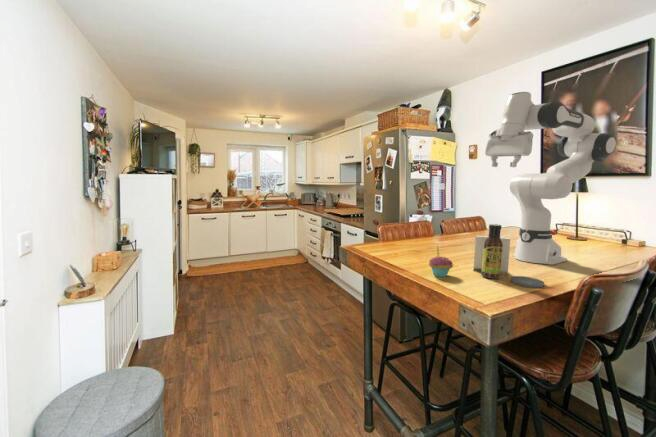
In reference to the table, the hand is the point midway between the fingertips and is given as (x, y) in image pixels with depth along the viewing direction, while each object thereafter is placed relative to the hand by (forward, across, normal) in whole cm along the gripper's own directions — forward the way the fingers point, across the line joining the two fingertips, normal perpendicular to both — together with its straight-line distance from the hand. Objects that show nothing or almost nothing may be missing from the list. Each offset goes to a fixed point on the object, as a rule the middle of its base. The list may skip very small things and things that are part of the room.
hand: (503, 166), depth 132 cm
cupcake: (+46, -8, +25) cm, 53 cm away
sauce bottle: (+43, -15, +9) cm, 46 cm away
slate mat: (+41, -24, +2) cm, 48 cm away
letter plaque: (+42, -9, +3) cm, 43 cm away
